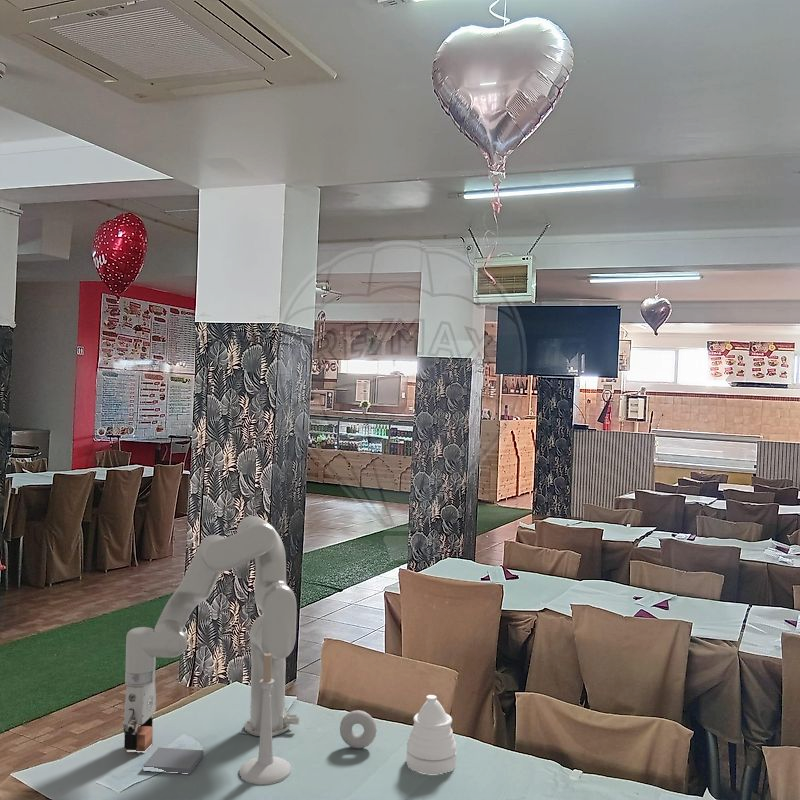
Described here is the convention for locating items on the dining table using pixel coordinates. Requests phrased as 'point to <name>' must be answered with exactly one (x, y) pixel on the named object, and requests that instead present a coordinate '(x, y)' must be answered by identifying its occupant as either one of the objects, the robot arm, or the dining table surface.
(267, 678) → the candlestick
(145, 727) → the brown cube
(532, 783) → the dining table surface
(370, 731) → the donut
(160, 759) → the slate board
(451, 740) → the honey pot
